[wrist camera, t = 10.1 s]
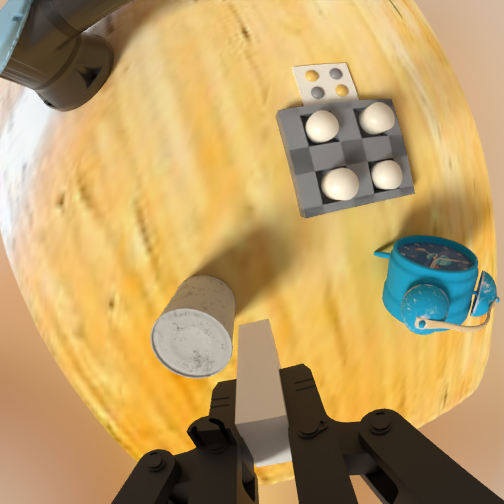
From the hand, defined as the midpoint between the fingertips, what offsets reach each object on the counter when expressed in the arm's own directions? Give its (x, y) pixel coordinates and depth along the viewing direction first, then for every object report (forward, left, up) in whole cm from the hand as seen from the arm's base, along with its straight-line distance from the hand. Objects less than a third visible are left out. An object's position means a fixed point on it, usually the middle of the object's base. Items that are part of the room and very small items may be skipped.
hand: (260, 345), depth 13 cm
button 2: (-6, +13, -23) cm, 27 cm away
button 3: (-14, +21, -23) cm, 34 cm away
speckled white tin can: (+7, -9, -27) cm, 29 cm away
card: (-22, +17, -26) cm, 38 cm away
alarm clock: (+9, +24, -27) cm, 37 cm away
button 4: (-6, +21, -25) cm, 33 cm away
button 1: (-14, +13, -25) cm, 31 cm away
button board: (-10, +17, -26) cm, 33 cm away
